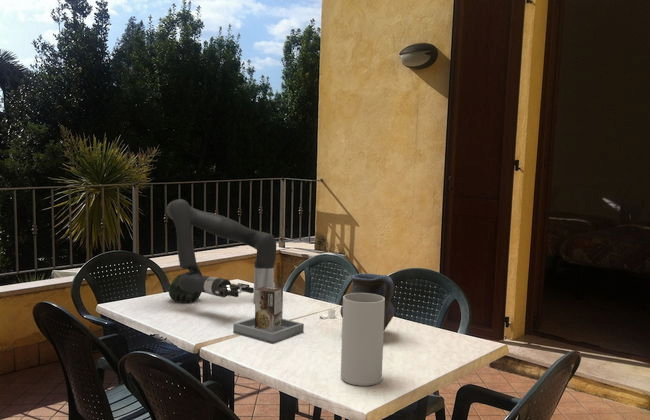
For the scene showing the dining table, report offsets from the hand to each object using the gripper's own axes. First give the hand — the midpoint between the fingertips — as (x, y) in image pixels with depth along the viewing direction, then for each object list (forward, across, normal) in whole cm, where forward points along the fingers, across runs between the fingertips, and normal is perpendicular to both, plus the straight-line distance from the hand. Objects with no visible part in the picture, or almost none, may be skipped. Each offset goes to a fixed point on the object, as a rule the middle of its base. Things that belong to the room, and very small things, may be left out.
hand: (245, 292), depth 213 cm
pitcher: (+45, +20, +14) cm, 51 cm away
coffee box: (+13, -1, +13) cm, 18 cm away
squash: (-49, +10, +14) cm, 52 cm away
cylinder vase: (+65, -17, +14) cm, 69 cm away
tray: (+13, -1, +14) cm, 19 cm away
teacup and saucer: (+17, +33, +15) cm, 40 cm away
